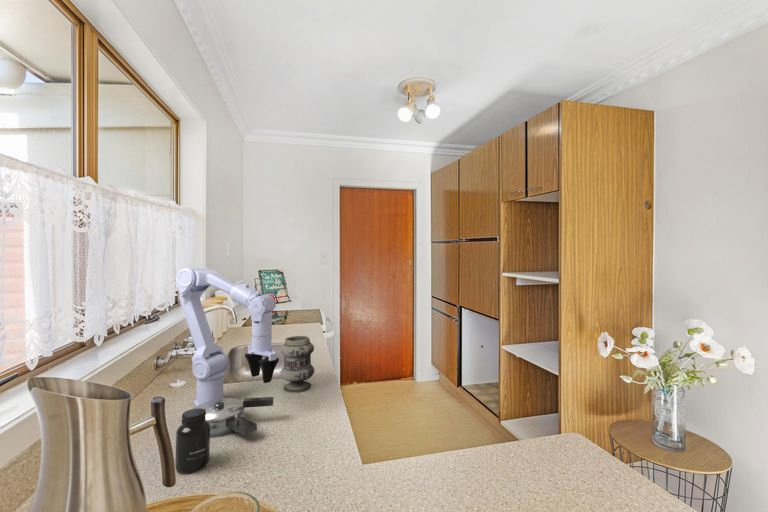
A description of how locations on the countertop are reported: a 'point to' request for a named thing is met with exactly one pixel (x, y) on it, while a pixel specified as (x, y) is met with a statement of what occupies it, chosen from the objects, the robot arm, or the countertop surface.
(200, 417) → the supplement bottle
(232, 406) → the lid
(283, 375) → the apothecary jar
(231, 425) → the pot
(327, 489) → the countertop surface
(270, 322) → the robot arm
